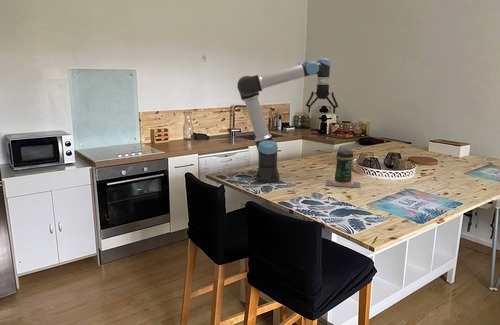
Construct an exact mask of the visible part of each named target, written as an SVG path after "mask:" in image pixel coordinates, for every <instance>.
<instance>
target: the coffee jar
mask: <svg viewBox="0 0 500 325" xmlns="http://www.w3.org/2000/svg"><path fill="white" fill-rule="evenodd" d="M353 160H354V152H353V150H349V149H345V150H338V151H337V153H336V166H335V173H334V177H335V180H336V181H338V182H348V181H351V178H352V164H353V163H352V162H353Z"/></svg>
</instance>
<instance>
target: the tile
mask: <svg viewBox="0 0 500 325" xmlns="http://www.w3.org/2000/svg"><path fill="white" fill-rule="evenodd" d="M332 180H333V183H332V185H334V186H347V187H353V185H354V184H353V182H354V178H352V177H351V181H348V182H338V181H336V180H335V176H333V177H332ZM334 186H333V187H334ZM347 187H346V188H347Z"/></svg>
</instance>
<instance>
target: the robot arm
mask: <svg viewBox="0 0 500 325" xmlns="http://www.w3.org/2000/svg"><path fill="white" fill-rule="evenodd" d="M330 70H331V60H330V59H329V58H318V59H317V61H313V60H311V61H300V62H298V65H294V66H289V67H287V68H284V69H280V70H276V71H273V72H269V73H266V74H263V75H259V74H256V75H244V76H241V77H240V78H239V79H238V81H237V90H238V93H239V96H240V99H241V101H242V102H244V104H245V107H246V110H247V112H248V116H249V119H250V122H251V125H252V129H253V133H254V135H255V138H254V143H255V146H256V150H257V154H258V157H257V158H258V167H257V170H256V171H255V172H256V173H255V176H254V177H255V180H256V181H257V180H258V182H262V183H275V182H278V181H279V180H280V172H279V170H278V151H279V150H278V149H279V147H278V143H277V142H276V141H274V138H273V135H272V134H271V133H269V130H268V127H267V124H266V120H265V117H264V114H263V111H262V106H261V103H260V101H259V96H260V92H262V91H263V90H264V89H268V88H271V87H274V86H276V85H281V84H284V83H288V82H291V81H295V80H298V79H301V78H305V77H309V76H314V75H316V76H317V78H316V84H317V85H316V91H311V93H310V97H309V99H308V100H307V101H306V104H305V107H307V109H308V110H307V111H308V113H309V119H312V110H313V107H312V106H313V105H314V103H315V102H316V101H317V100H318V99H319V100H326V101H327V102H328V103H329V104H330V105H331V117H330V118H331V119H332V120H333V118H334V114H336V108H338V107H339V104H338V102H337V100H336V97H335V95H334V94H335V93H334V91H332V92H330V85H329V84H330V75H331V73H330V72H331V71H330ZM315 95H316V97H315V98H314V100H312V99H313V97H314V96H315ZM329 95H330V97H331V98H332V100H331V99H330V98H329ZM311 100H312V102H311ZM332 101H333V102H334V103H333V102H332Z"/></svg>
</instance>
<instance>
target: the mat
mask: <svg viewBox="0 0 500 325" xmlns="http://www.w3.org/2000/svg"><path fill="white" fill-rule="evenodd" d="M332 183H333V179H332V180H330V179H326V180H325V187H334V188H346V189H347V188H350V189H361V183H360V182H359V181H358V182H357V181H353V184H354V185H353V187H347V186H334V185H332Z"/></svg>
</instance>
